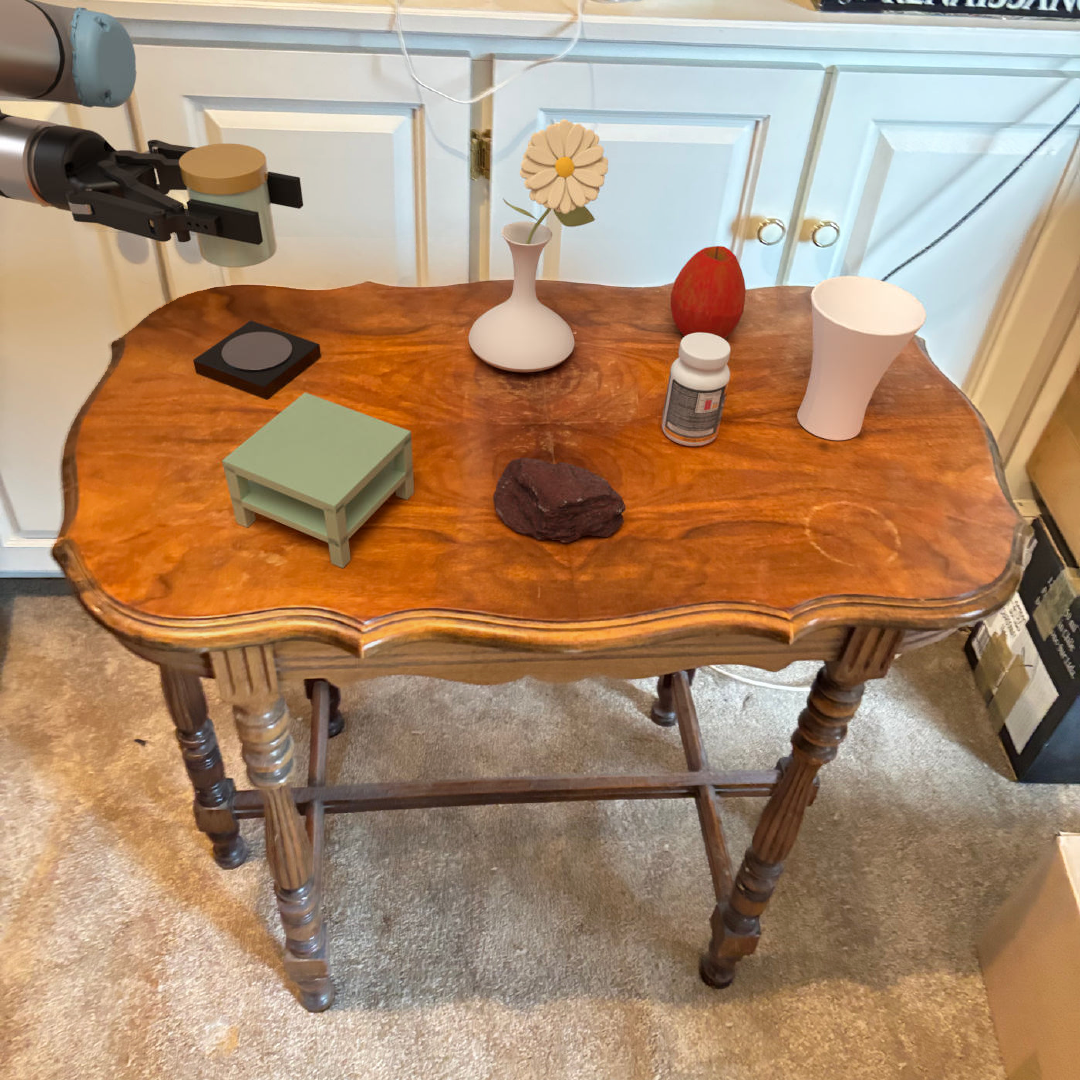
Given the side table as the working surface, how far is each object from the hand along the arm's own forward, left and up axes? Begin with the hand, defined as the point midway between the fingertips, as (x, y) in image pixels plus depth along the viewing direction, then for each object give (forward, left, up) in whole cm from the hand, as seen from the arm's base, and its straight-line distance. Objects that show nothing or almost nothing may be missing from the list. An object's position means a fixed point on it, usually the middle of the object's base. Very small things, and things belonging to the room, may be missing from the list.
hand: (279, 210), depth 84 cm
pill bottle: (+38, +12, -18) cm, 44 cm away
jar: (-5, -1, -5) cm, 7 cm away
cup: (+50, +21, -18) cm, 57 cm away
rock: (+32, -6, -18) cm, 37 cm away
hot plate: (-5, -1, -18) cm, 18 cm away
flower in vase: (+18, +16, -18) cm, 30 cm away
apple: (+33, +30, -18) cm, 48 cm away
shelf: (+14, -15, -18) cm, 27 cm away
